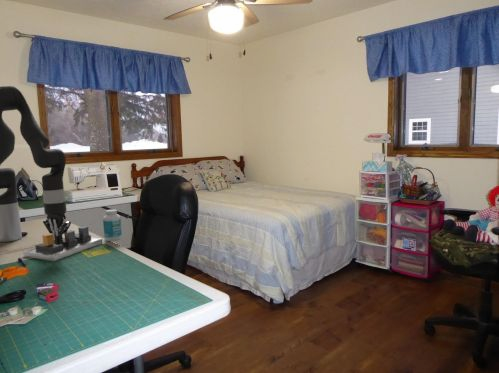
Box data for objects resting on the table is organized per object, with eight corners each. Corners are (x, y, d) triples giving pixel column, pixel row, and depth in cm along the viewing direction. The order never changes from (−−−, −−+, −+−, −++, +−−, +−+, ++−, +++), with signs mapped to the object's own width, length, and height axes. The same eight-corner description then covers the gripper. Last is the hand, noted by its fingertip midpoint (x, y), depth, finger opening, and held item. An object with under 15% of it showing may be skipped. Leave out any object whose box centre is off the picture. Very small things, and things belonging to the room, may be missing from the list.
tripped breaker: (43, 245, 141) (42, 235, 140) (50, 242, 143) (49, 233, 143) (47, 245, 140) (46, 235, 139) (54, 243, 142) (53, 233, 142)
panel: (23, 256, 141) (21, 236, 140) (74, 239, 163) (72, 222, 162) (54, 261, 134) (52, 240, 133) (102, 243, 156) (101, 225, 155)
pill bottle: (116, 242, 157) (113, 212, 155) (101, 241, 159) (98, 212, 157) (125, 237, 164) (123, 208, 163) (110, 236, 166) (108, 208, 164)
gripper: (33, 201, 136) (38, 245, 139) (58, 203, 131) (63, 248, 134) (51, 198, 143) (55, 240, 145) (75, 200, 138) (79, 243, 140)
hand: (59, 244), depth 140 cm, fingers closed
